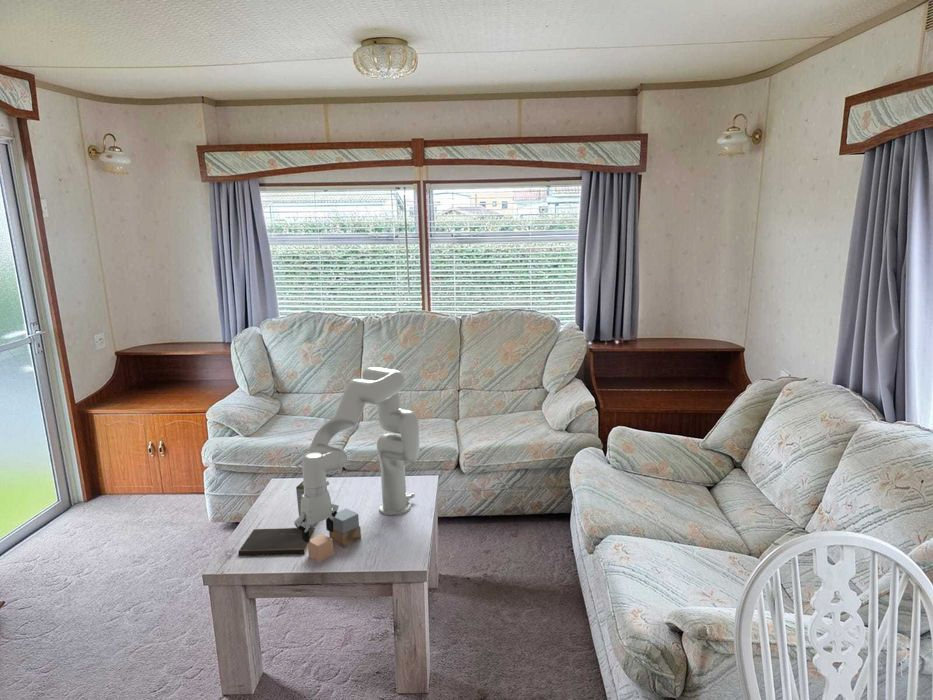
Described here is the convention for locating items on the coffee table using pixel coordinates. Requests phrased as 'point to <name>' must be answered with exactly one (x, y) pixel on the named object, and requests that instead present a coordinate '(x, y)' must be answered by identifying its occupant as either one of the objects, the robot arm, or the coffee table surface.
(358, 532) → the tower bottom
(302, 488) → the coffee box
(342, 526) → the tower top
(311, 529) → the hardcover book
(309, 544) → the terracotta cube
